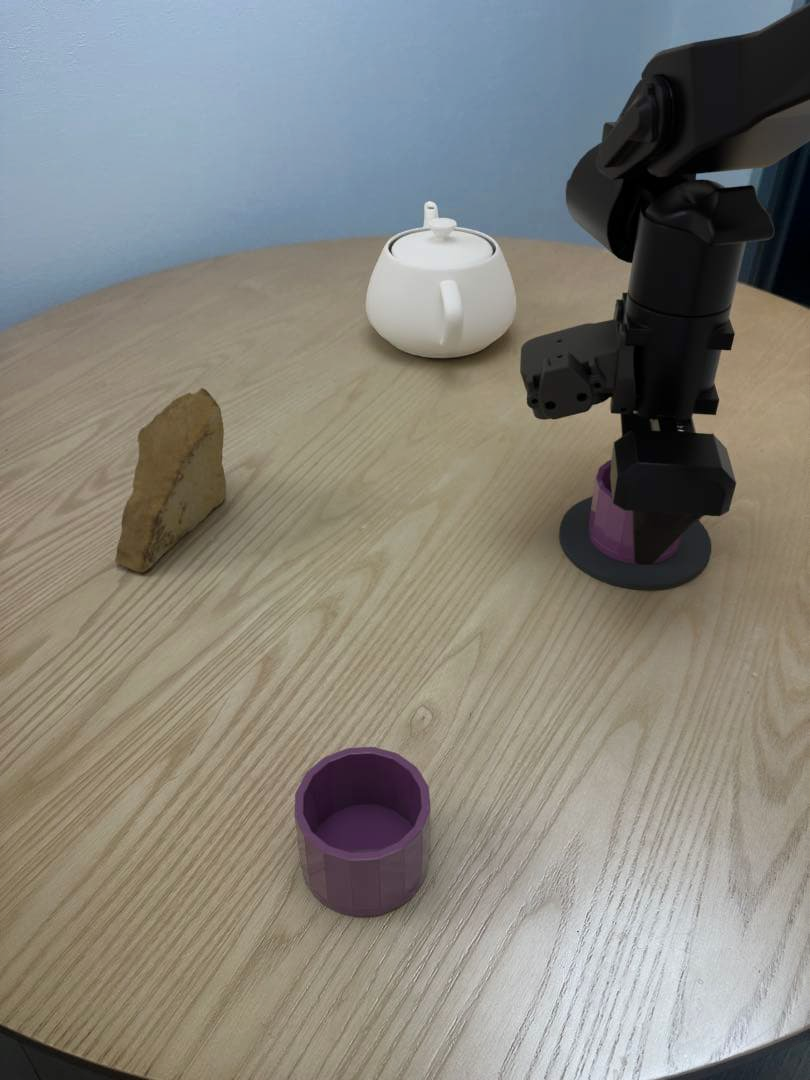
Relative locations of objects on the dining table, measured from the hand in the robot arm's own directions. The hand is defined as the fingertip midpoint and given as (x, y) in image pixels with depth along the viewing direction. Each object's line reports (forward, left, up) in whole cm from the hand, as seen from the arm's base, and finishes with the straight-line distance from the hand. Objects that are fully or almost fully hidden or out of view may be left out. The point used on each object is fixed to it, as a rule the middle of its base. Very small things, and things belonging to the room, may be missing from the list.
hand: (637, 518), depth 62 cm
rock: (+25, +19, -2) cm, 32 cm away
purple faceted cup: (-3, +29, -2) cm, 30 cm away
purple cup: (0, 0, -1) cm, 1 cm away
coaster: (0, 0, -2) cm, 2 cm away
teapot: (+30, -16, -2) cm, 34 cm away
